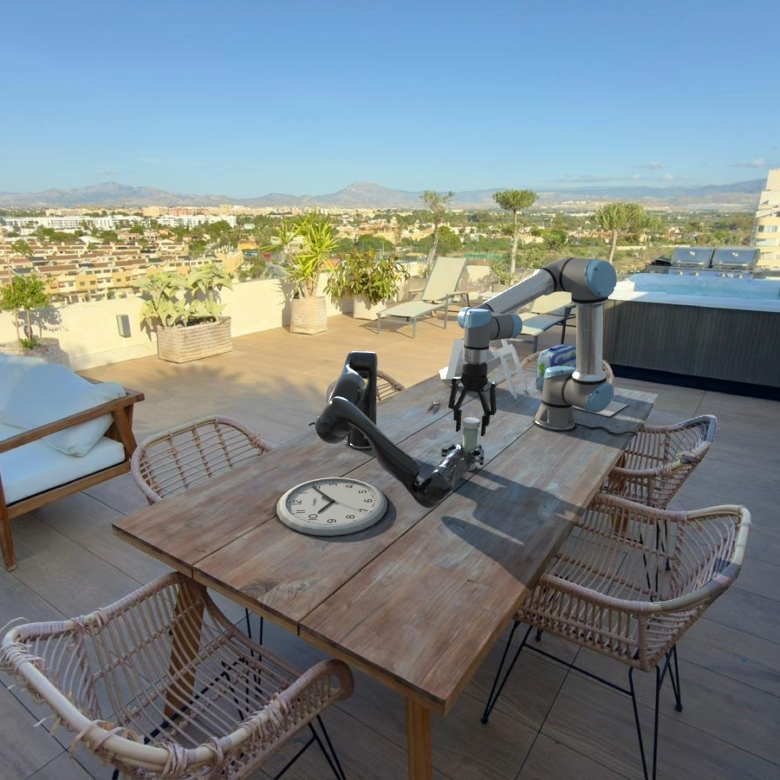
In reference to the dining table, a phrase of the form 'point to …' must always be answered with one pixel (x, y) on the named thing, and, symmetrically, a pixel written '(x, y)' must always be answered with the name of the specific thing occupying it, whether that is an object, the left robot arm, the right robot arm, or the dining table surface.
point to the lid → (471, 423)
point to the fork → (434, 403)
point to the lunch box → (554, 361)
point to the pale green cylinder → (470, 441)
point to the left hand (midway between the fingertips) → (471, 445)
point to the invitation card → (609, 408)
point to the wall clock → (331, 506)
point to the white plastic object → (493, 362)
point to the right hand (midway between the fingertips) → (470, 432)
